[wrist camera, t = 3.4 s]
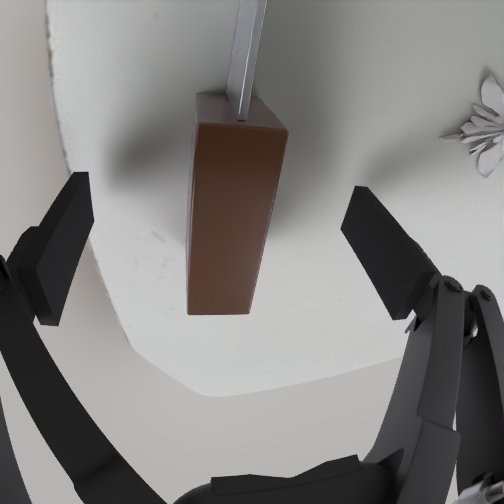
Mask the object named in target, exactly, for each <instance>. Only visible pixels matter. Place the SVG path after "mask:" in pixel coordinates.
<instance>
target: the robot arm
mask: <svg viewBox="0 0 504 504" xmlns="http://www.w3.org/2000/svg"><path fill="white" fill-rule="evenodd" d="M93 223H94V216H93V209H92V201H91V192H90V183H89V173H88V172H73V174H72V175H71V177H70V178H69V180H68V181H67V183H66V184H65V185H64V187H63V188H62V190H61V191H60V193H59V194H58V196H57V197H56V199H55V201H54V202H53V204H52V205H51V207H50V208H49V210H48V212H47V213H46V215H45V216H44V218H43V220H42V221H41V223H40V225H39V226H36V227H35V226H31V227H30V228H28V229H27V230H26V231H25V232H24V233H23V234H22V235H21V237H20V238H19V240H18V242H17V244H16V245H15V247H14V249H13V251H12V252H11V254H10V256H9V257H8V259H7V261H6V262H5V259H4V257H3V256H2V255H0V351H1V354H2V356H3V359H4V361H5V363H6V366H7V368H8V370H9V372H10V375H11V377H12V379H13V381H14V384H15V386H16V388H17V390H18V392H19V394H20V396H21V398H22V400H23V402H24V404H25V406H26V408H27V409H28V411H29V413H30V415H31V417H32V419H33V421H34V422H35V424H36V426H37V428H38V429H39V431H40V433H41V434H42V436H43V438H44V439H45V441H46V443H47V444H48V446H49V447H50V449H51V451H52V452H53V454H54V455H55V457H56V458H57V460H58V461H59V463H60V464H61V466H62V467H63V469H64V470H65V471H66V473H67V474H68V476H69V477H70V479H71V480H72V482H73V484H74V489H75V491H76V492H77V494H78V496H79V497H80V499H81V500H82V501H83V503H84V504H167V503H166V502H165V501H164V500H163V499H162V498H161V497H160V496H159V495H157V493H156V492H155V491H154V490H153V489H152V488H151V487H150V486H149V485H148V484H147V483H146V482H145V481H144V480H143V479H142V478H141V477H140V476H139V475H138V474H137V473H136V472H135V470H134V469H133V468H132V467H131V466H130V465H129V464H128V463H127V461H126V460H125V459H124V458H123V457H122V456H121V455H120V453H119V452H118V451H117V450H116V449H115V448H114V446H113V445H112V444H111V443H110V442H109V440H108V439H107V438H106V436H105V435H104V434H103V433H102V431H101V430H100V429H99V427H98V426H97V425H96V424H95V422H94V421H93V420H92V418H91V417H90V415H89V414H88V413H87V411H86V410H85V409H84V407H83V406H82V404H81V403H80V401H79V400H78V399H77V397H76V396H75V394H74V393H73V391H72V390H71V388H70V387H69V385H68V383H67V382H66V380H65V379H64V377H63V376H62V374H61V372H60V371H59V369H58V367H57V366H56V364H55V362H54V361H53V359H52V357H51V356H50V354H49V352H48V350H47V349H46V347H45V345H44V343H43V341H42V340H41V338H40V336H39V334H38V332H37V330H36V328H35V326H34V324H33V321H34V318H35V315H36V316H37V318H38V320H39V322H40V325H48V326H58V325H59V322H60V318H61V315H62V311H63V308H64V305H65V301H66V298H67V295H68V292H69V289H70V286H71V282H72V279H73V277H74V273H75V271H76V268H77V265H78V262H79V259H80V257H81V254H82V251H83V249H84V246H85V243H86V241H87V238H88V236H89V233H90V231H91V228H92V226H93ZM341 231H342V232H343V234H344V236H345V237H346V239H347V241H348V242H349V244H350V245H351V247H352V249H353V250H354V252H355V254H356V256H357V257H358V259H359V261H360V262H361V264H362V266H363V267H364V269H365V271H366V273H367V274H368V276H369V278H370V280H371V281H372V283H373V285H374V287H375V288H376V290H377V292H378V294H379V296H380V297H381V299H382V301H383V303H384V305H385V307H386V308H387V310H388V312H389V314H390V316H391V318H392V320H400V319H406V318H407V317H408V315H409V314H410V312H411V311H412V309H413V310H414V312H415V313H416V316H415V317H414V319H413V320H412V322H411V323H410V325H409V326H408V327H407V329H406V330H405V333H407V332H408V331H409V330H410V333H409V337H408V341H407V345H406V349H405V353H404V357H403V360H402V364H401V367H400V371H399V374H398V378H397V381H396V384H395V387H394V391H393V394H392V397H391V400H390V403H389V406H388V409H387V412H386V414H385V417H384V420H383V423H382V425H381V428H380V431H379V433H378V436H377V439H376V441H375V444H374V446H373V448H372V449H371V451H370V452H369V453H368V455H367V456H366V457H365V458H364V460H363V461H359V459H358V456H357V454H356V455H352V456H348V457H344V458H340V459H336V460H332V461H327V462H324V463H322V464H320V465H319V466H316V467H314V468H312V469H310V470H308V471H306V472H304V473H302V474H299V475H297V476H295V477H291V478H284V477H272V476H261V475H252V474H248V475H238V476H225V477H211V481H210V483H208V484H205V485H202V486H199V487H197V488H195V489H192V490H191V491H189V492H187V493H185V494H184V495H183V496H181V497H180V498H178V500H176V501H175V502H174V503H173V504H445V501H446V498H447V495H448V491H449V487H450V484H451V480H452V476H453V472H454V468H455V464H456V472H457V473H456V477H457V490H458V496H459V499H458V500H456V501H454V502H453V503H452V504H504V322H503V318H502V315H501V312H500V309H499V306H498V303H497V300H496V298H495V296H494V294H493V293H492V292H491V290H490V289H488V288H487V287H485V286H483V285H476V287H475V288H474V290H473V291H472V292H468V291H464V290H463V287H462V286H461V284H460V283H459V282H458V281H457V280H455V279H454V278H452V277H450V276H445V275H444V276H442V275H441V273H440V272H439V270H438V269H437V268H436V266H435V265H434V264H433V262H432V261H431V260H430V258H428V256H427V254H426V253H425V252H423V249H422V248H421V247H420V245H419V244H418V243H417V242H416V241H414V240H413V239H412V238H411V237H409V236H408V234H407V233H406V232H405V231H404V229H403V228H402V227H401V226H400V225H399V223H398V222H397V221H396V220H395V218H394V217H393V216H392V215H391V214H390V213H389V211H388V210H387V209H386V208H385V207H384V205H383V204H382V203H381V202H380V201H379V200H378V199H377V197H376V196H375V195H374V194H373V193H372V192H371V191H370V189H369V188H368V187H363V186H355V188H354V191H353V194H352V197H351V200H350V203H349V206H348V209H347V211H346V214H345V217H344V220H343V223H342V226H341ZM477 327H478V331H477V335H476V336H475V337H474V336H473V332H474V331H475V330H476V328H477ZM455 410H456V431H454V430H453V421H454V416H455ZM456 461H457V462H456ZM0 504H32V502H31V500H30V498H29V495H28V493H27V490H26V487H25V485H24V482H23V479H22V476H21V473H20V470H19V467H18V464H17V461H16V458H15V455H14V452H13V449H12V445H11V441H10V437H9V433H8V430H7V425H6V421H5V417H4V412H3V408H2V403H1V398H0Z"/></svg>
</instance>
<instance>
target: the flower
mask: <svg viewBox="0 0 504 504" xmlns="http://www.w3.org/2000/svg"><path fill="white" fill-rule="evenodd" d="M481 94H482V101H483V104H484V105H486V106H488V107H489V108H491V109H493V110H494V111H496V112H497V113H498V114H499V115H497V116H496V117H495V116H494V115H493V114H492V113H487V112H485V111H484V110H483V109H482V108H481V107H479V106H478V105H475V104H472V106H473V108H474V109H475V111H476V112H477V113H478V114H480V115H482V116H485V119H487V120H489V121H492V122H489V121H486V120H484V119H482V118H480V117H478V116H473V117H472V118H471V121H472V122H473V123H471V122H467V123H465V124H464V125H463V126H462V127H461V129H462V130H463V131H464V133H462V134H453V135H449V136H445V137H441V139H454V138H458V137H461V136H463V135H464V136H465V137H467V136H472V137H468V138H466V139H464V140H463V141H462V142H461V143H464V144H466V143H470V142H473V141H476V140H479V139H482V138H486V137H490V136H492V137H490V138H487V139H485V140H488V139H491V138H493V137H495V136H497V135H499V134H500V136H497V137H495V138H493V139H492V140H493V142H494V143H498V142H499V143H498V144H496V145H495V146H494V147H492V148H491V149H489V150H487V151H485V152H483V153H481V155H480V159H479V163H478V169H479V172H480V174H481V175H482V176H483V177H484V178H485V179H487V178H488V177H489V175H490V174H491V173H492V171H493V170H494V169H495V167H496V166H497V165H498V163H499V162H500V161H501V160H502V159H503V158H504V134H502V133H504V93H503V91H502V90H501V88H500V87H499V85H498V83H497V82H496V80H495V78H494V77H493V75H492V74H491V75H490V76H489V77H488V78H487V79H486V80H485V81H484V84H483V87H482V89H481ZM488 126H495V127H488ZM501 134H502V135H501ZM476 135H484V136H476ZM490 142H491V141H490ZM490 142H489V143H490ZM485 143H486V142H484V143H482V144H479V145H477V146H476V147H474V148H473V149H472V150H476V149H478V148H479V149H478V150H477V151H475V152H474V153H473V154H475V153H478V152H479V151H481V150H482V149H483V148H484V147H485V146H486V145H487V144H488V143H487V144H485ZM484 144H485V145H484ZM482 145H483V146H482ZM472 150H470V151H472ZM473 154H471V155H473Z"/></svg>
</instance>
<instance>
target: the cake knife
mask: <svg viewBox="0 0 504 504" xmlns="http://www.w3.org/2000/svg"><path fill="white" fill-rule="evenodd" d="M266 3H267V0H241V1H240V7H239V12H238V18H237V24H236V30H235V37H234V43H233V49H232V56H231V63H230V69H229V76H228V83H227V91H226V95H219V94H204V93H197V94H196V99H195V109H194V120H193V131H192V143H191V156H190V171H189V187H188V205H187V228H186V291H187V314H188V315H239V314H249V313H250V309H251V304H252V300H253V295H254V291H255V286H256V282H257V277H258V273H259V268H260V264H261V259H262V255H263V250H264V246H265V241H266V237H267V232H268V228H269V223H270V218H271V214H272V209H273V205H274V200H275V195H276V191H277V186H278V181H279V177H280V172H281V167H282V163H283V158H284V153H285V149H286V144H287V139H288V134H289V131H288V130H287V128H286V127H285V126H284V125H283V124H282V123H281V121H280V120H279V119H278V118H277V117H276V116H275V114H274V113H273V112H272V111H271V110H270V109H269V108H268V106H267V105H266V104H265V103H264V102H263V101H262V100H261V99H260V98H252V97H250V96H251V90H252V84H253V78H254V72H255V66H256V60H257V54H258V48H259V42H260V36H261V31H262V25H263V20H264V14H265V8H266Z"/></svg>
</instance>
